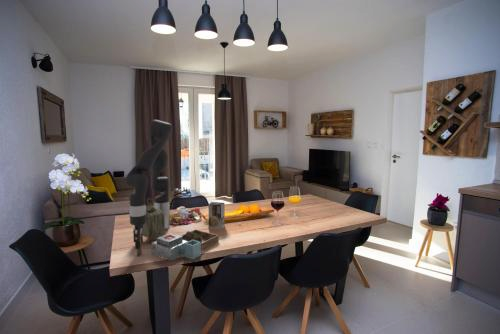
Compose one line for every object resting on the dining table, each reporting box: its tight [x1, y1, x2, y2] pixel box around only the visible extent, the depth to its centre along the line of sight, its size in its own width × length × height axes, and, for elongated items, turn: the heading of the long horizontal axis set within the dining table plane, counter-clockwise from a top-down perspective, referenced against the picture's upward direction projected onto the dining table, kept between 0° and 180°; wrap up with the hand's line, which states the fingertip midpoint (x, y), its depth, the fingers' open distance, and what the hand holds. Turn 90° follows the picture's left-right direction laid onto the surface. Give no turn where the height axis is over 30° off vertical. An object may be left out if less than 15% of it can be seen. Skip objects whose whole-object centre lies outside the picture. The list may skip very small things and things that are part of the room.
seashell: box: [185, 231, 203, 243], centre depth 151 cm, size 11×12×10 cm
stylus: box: [136, 237, 143, 257], centre depth 137 cm, size 2×2×12 cm
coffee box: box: [207, 201, 226, 230], centre depth 179 cm, size 9×6×16 cm
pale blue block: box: [151, 232, 188, 262], centre depth 139 cm, size 14×11×8 cm
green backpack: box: [143, 197, 166, 243], centre depth 154 cm, size 14×9×25 cm, turn 48°
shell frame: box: [180, 229, 220, 252], centre depth 152 cm, size 17×16×4 cm
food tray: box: [169, 206, 203, 226], centre depth 195 cm, size 25×24×9 cm
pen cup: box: [184, 240, 202, 260], centre depth 137 cm, size 6×6×7 cm
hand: (139, 245), depth 137 cm, fingers open, 7 cm apart
